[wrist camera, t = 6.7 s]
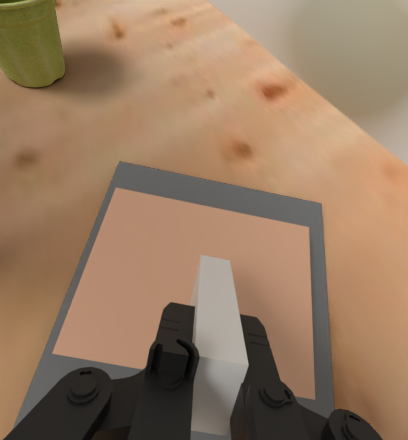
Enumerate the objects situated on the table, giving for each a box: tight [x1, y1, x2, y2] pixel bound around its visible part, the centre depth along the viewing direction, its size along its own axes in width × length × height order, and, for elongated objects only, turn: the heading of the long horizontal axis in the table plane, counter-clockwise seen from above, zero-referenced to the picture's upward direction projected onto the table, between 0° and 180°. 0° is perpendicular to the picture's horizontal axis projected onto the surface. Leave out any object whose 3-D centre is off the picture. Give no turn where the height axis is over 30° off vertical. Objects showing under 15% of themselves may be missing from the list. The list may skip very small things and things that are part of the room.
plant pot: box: [0, 0, 65, 87], centre depth 27 cm, size 9×9×9 cm
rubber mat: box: [13, 161, 335, 440], centre depth 21 cm, size 24×20×1 cm
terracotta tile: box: [52, 188, 315, 400], centre depth 20 cm, size 2×16×12 cm
